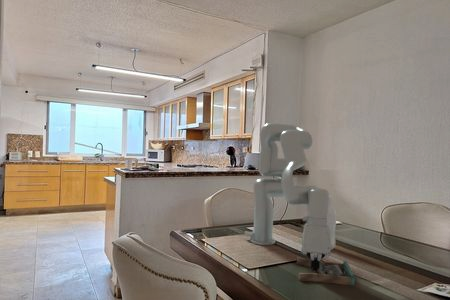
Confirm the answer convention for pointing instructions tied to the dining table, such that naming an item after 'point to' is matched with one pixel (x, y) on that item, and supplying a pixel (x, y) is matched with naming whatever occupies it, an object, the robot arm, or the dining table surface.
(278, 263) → the dining table surface
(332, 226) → the water bottle
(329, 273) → the egg carton
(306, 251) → the robot arm
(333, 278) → the guide
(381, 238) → the dining table surface
